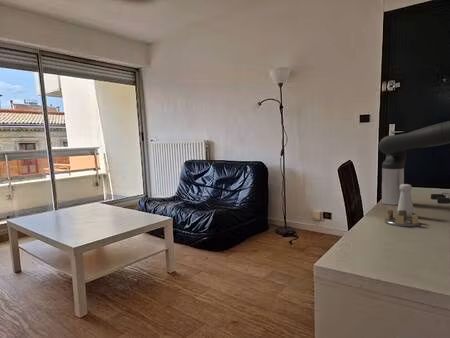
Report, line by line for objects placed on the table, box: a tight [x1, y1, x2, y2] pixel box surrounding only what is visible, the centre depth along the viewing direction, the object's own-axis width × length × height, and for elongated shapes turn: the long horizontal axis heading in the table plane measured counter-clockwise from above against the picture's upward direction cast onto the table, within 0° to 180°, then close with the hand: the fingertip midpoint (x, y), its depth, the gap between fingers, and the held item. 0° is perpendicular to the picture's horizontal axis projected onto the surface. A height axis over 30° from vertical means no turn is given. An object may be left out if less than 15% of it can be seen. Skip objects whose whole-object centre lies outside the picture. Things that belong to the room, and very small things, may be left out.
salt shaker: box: [397, 183, 415, 218], centre depth 122 cm, size 6×6×13 cm
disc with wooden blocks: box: [384, 209, 420, 228], centre depth 112 cm, size 11×11×4 cm
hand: (434, 198), depth 118 cm, fingers open, 8 cm apart
